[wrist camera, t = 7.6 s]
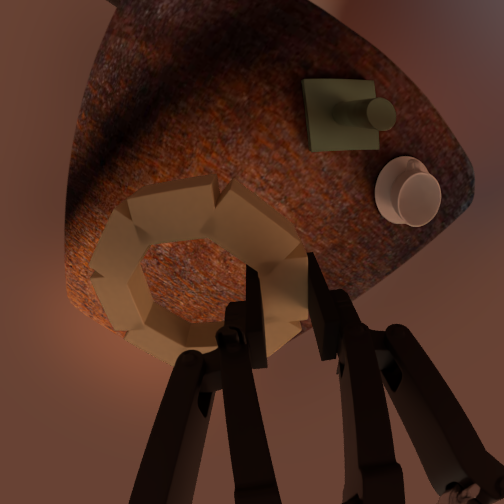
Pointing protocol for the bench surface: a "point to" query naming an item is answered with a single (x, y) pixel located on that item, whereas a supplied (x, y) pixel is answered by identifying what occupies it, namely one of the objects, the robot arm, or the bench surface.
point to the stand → (344, 114)
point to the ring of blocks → (188, 228)
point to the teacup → (407, 192)
